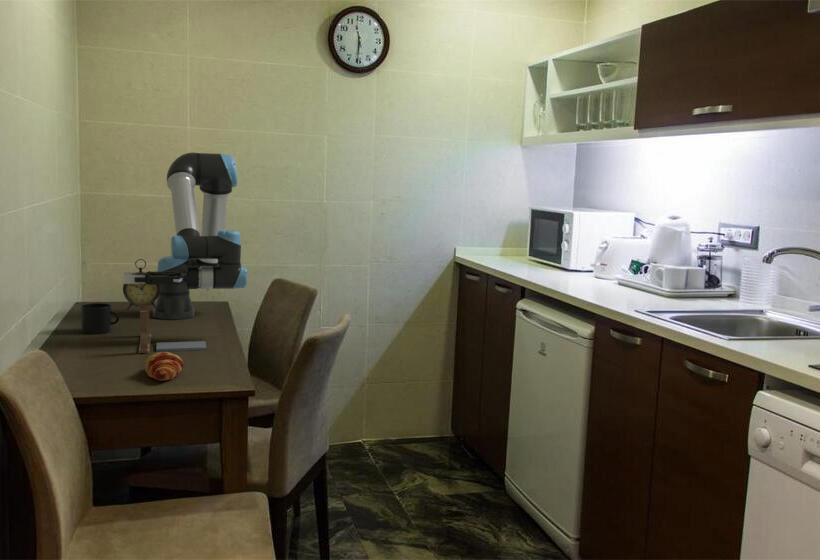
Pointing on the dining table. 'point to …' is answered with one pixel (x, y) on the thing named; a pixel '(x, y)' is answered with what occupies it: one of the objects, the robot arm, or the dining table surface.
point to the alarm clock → (141, 291)
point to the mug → (97, 318)
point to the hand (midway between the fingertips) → (123, 278)
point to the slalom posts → (144, 330)
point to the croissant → (163, 366)
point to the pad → (181, 346)
